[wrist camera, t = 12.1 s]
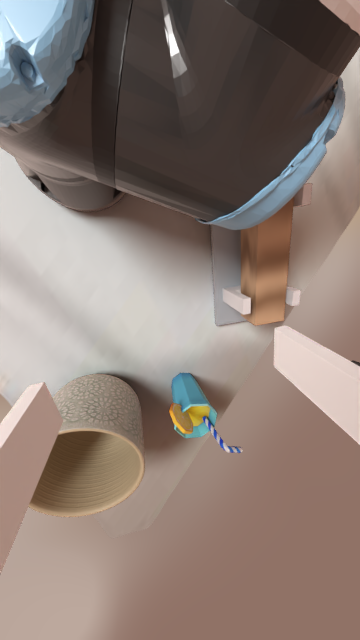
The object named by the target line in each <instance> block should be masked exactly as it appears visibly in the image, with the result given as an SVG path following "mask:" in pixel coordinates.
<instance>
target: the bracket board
mask: <svg viewBox="0 0 360 640" xmlns="http://www.w3.org/2000/svg"><path fill="white" fill-rule="evenodd" d="M311 191H312V183H308V184H304V185H303V186H302V188H301V189H300V190H299V191H298V192H297V193H296V194H295V195H294V203H293V208H295V207H300V206H304V205H309V204H310V200H311ZM210 225H211V247H212V268H213V289H214V311H215V324H216V325H217V326H219V325H225V324H231V323H236V322H242V321H248V320H246V319H245V318H244V317H242V316H241V314H243V315H244V314H250V313H251V298H250V297H247V296H245V295H243V294H241V229H240V230H231V229H227V228H224V227H220V226H217V225H214V224H210ZM300 292H301V290H299V289H295V288H292V287H289V286H287V288H286V300H285V303H286V304H288V305H290V306H296V305H299V301H300Z"/></svg>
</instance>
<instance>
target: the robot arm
mask: <svg viewBox="0 0 360 640" xmlns="http://www.w3.org/2000/svg"><path fill="white" fill-rule="evenodd" d="M359 47H360V0H0V147H1V148H2V149H4V150H5V151H7V152H8V153H9V154H11V155H12V156H14V157H15V159H16V161H17V163H18V164H19V166H20V168H21V169H22V171H23V172H24V174H25V175H26V176H27V177H28V179H29V180H30V181H31V182H32V183H33V184H34V185H35V186H36V187H37V188H38V189H39V190H40V191H41V192H42V193H44V194H45V195H46V196H48V197H49V198H51V199H52V200H54V201H56V202H58V203H60V204H62V205H64V206H66V207H68V208H71V209H74V210H79V211H88V212H90V211H99V210H103V209H106V208H108V207H110V206H112V205H114V204H115V203H117V202H118V201H119V200H120V199H121V198H122V197H123V196H124V195H125V193H128V194H131V195H133V196H136V197H139V198H142V199H144V200H147V201H150V202H153V203H155V204H158V205H161V206H164V207H166V208H169V209H172V210H175V211H177V212H180V213H183V214H186V215H188V216H191V217H194V218H195V220H196V221H198V222H200V223H203V224H214V225H217V226H220V227H224V228H227V229H231V230H240V229H247V228H251V227H253V226H256V225H258V224H260V223H262V222H263V221H265V220H267V219H268V218H270V217H271V216H272V215H274V214H275V213H276V212H277V211H279V210H280V209H281V208H282V207H283V206H284V205H285V204H286V203H287V202H289V201H290V200H291V199H292V198H293V197H294V195H295V194H296V193H297V192H298V191H299V190H300V189H301V188H302V186H303V185H304V184H305V183H306V182H307V180H308V179H309V178H310V177H311V175H312V174H313V172H314V171H315V170H316V168H317V167H318V165H319V164H320V162H321V161H322V159H323V157H324V156H325V154H326V152H327V149H326V146H325V144H326V143H327V142H328V141H329V140H331V139H332V138H333V137H334V136H335V135H336V133H337V130H338V128H339V125H340V123H341V120H342V117H343V113H344V109H345V91H344V89H343V81H342V78H341V77H340V75H341V74H342V72H343V71H344V69H345V68H346V66H347V65H348V63H349V62H350V60H351V59H352V57H353V56H354V55H355V53H356V52H357V50H358V49H359ZM274 367H275V368H276V369H277V370H279V372H281V373H282V374H283V375H284V376H285V377H286V378H287V379H288V380H289V381H291V383H293V384H294V385H295V386H296V387H297V388H298V389H299V390H300V391H301V392H302V393H304V394H305V395H306V396H307V397H308V398H309V399H310V400H311V401H313V403H315V404H316V405H317V406H318V407H319V408H320V409H321V410H322V411H323V412H325V413H326V414H327V415H328V416H329V417H330V418H331V419H332V420H333V421H334V422H335V423H337V424H338V425H339V426H340V427H341V428H342V429H343V430H344V431H345V432H346V433H348V434H349V435H350V436H351V437H352V438H353V439H354V440H355V441H356V442H357V443H358V444H360V363H359V362H356V361H349V360H347V359H345V358H344V357H342V356H340V355H338V354H337V353H335V352H333V351H331V350H329V349H328V348H326V347H324V346H322V345H320V344H318V343H317V342H315V341H313V340H311V339H310V338H308V337H306V336H304V335H303V334H301V333H299V332H297V331H295V330H293V329H292V328H290V327H288V326H281V327H277V328H275V333H274ZM62 423H63V419H62V417H61V415H60V413H59V411H58V409H57V407H56V405H55V403H54V401H53V399H52V396H51V394H50V392H49V390H48V388H47V386H46V384H45V382H43V383H38V384H34V385H30V386H28V388H27V389H26V390H25V392H24V393H23V394H22V396H21V397H20V398H19V400H18V401H17V402H16V404H15V405H14V406H13V408H12V409H11V410H10V412H9V413H8V414H7V416H6V417H5V418H4V420H3V421H2V422H1V423H0V574H1V571H2V569H3V567H4V564H5V562H6V559H7V557H8V554H9V552H10V549H11V547H12V545H13V542H14V540H15V537H16V535H17V533H18V530H19V527H20V525H21V523H22V520H23V518H24V515H25V513H26V511H27V508H28V506H29V503H30V501H31V499H32V496H33V494H34V491H35V489H36V486H37V484H38V482H39V479H40V477H41V474H42V472H43V469H44V467H45V465H46V462H47V460H48V457H49V455H50V452H51V450H52V447H53V445H54V443H55V440H56V438H57V435H58V433H59V430H60V428H61V426H62Z"/></svg>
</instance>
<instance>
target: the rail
mask: <svg viewBox="0 0 360 640" xmlns="http://www.w3.org/2000/svg"><path fill="white" fill-rule="evenodd" d="M293 203H294V197H293V198H292V199H291V200H290V201H289V202H287V203H286V204H285V205H284V206H283V207H282V208H281V209H280V210H279V211H277V212H276V213H275V214H274V215H272V216H271V217H270V218H268V219H267V220H265V221H263V222H262V223H260V224H258V225H256V226H253V227H251V228H247V229H241V294H243V295H245V296H247V297H250V298H251V313H250V314H244V315H243V314H241V316H242V317H244V318H245V319H246V320H248V321H249V322H251V323H252V324H253V325H255V326H256V325H262V324H267V323H273V322H278V321H284V312H285V300H286V288H287V276H288V264H289V251H290V239H291V227H292V215H293Z"/></svg>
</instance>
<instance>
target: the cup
mask: <svg viewBox="0 0 360 640" xmlns="http://www.w3.org/2000/svg"><path fill="white" fill-rule="evenodd" d="M172 396H173V403H172V404H171V406H170V409H169V413H170V415H171V418H172V420H173V423H174V430H176V431H177V432H178V433H179V434H180V435H182V436H183V437H184V438H194V437H202V436H203V435H204V434H206V433H207V432H209V431H211V433H212V434H213V436H214V437H215V439H216V440H217V442H218V443H219V445H220V446H221V447H222V448H223V449H224V450H225V451H226V452H232V453H233V452H234V453H241V452H242V451H243V450H242V448H241V447H234V446H227V445H226V444H225V443H224V442H223V440H222V439H221V437H220V436H219V435H218V433H217V432H216V430H215V429H214V427H215V422H216V418H217V414H218V413H217V412H216V410H215V409H214V408H213V407H212V406H211V405H210V403H209V401H208V400H207V398H206V396H205V395H204V393H203V391H202V390H201V388H200V386H199V385H198V383H197V381H196V380H195V378H194V377H193V376H192V375H191V374H190V373H180V374H178V375H177V376H176V377H175V378H173V380H172Z"/></svg>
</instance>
